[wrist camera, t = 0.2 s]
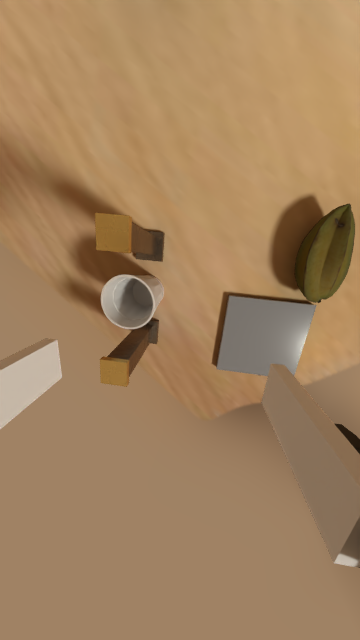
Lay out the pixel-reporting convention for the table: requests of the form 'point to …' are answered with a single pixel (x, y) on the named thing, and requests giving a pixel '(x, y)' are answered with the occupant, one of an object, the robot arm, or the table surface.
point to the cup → (131, 299)
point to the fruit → (326, 255)
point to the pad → (263, 334)
